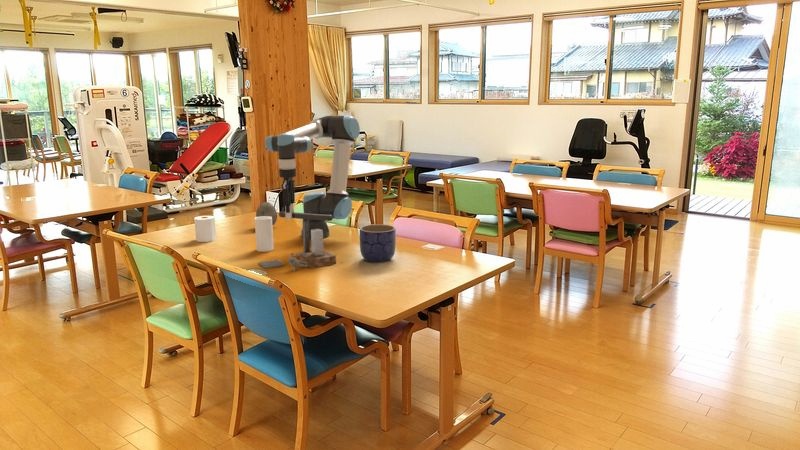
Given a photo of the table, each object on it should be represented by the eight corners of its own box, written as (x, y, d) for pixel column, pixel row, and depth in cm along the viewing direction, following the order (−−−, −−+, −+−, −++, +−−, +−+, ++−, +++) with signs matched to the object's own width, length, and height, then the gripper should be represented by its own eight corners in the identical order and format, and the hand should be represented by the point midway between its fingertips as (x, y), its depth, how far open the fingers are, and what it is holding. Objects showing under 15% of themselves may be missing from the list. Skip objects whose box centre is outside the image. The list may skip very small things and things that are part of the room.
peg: (320, 260, 258) (318, 228, 255) (323, 262, 255) (322, 230, 252) (312, 262, 256) (310, 229, 253) (315, 264, 253) (314, 231, 249)
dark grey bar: (280, 218, 267) (280, 210, 267) (334, 222, 258) (333, 214, 257) (277, 219, 265) (277, 211, 264) (331, 223, 256) (331, 215, 255)
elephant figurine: (311, 270, 244) (293, 267, 238) (304, 278, 247) (285, 274, 241) (307, 252, 250) (289, 248, 244) (300, 259, 253) (282, 255, 247)
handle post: (311, 253, 271) (309, 218, 267) (318, 257, 264) (317, 221, 260) (295, 255, 266) (294, 220, 263) (302, 259, 260) (301, 223, 256)
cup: (269, 252, 273) (267, 219, 269) (253, 251, 274) (251, 219, 271) (276, 247, 281) (274, 216, 277) (260, 247, 282) (259, 215, 279)
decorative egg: (275, 230, 319) (273, 203, 316) (254, 229, 319) (252, 203, 316) (279, 225, 330) (278, 200, 327) (259, 225, 331) (258, 200, 327)
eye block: (324, 257, 264) (323, 250, 263) (335, 263, 254) (335, 255, 253) (300, 261, 257) (299, 253, 256) (311, 267, 247) (310, 260, 247)
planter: (368, 266, 249) (368, 233, 246) (354, 257, 263) (353, 226, 260) (402, 261, 256) (402, 229, 253) (386, 253, 271) (385, 222, 267)
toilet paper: (191, 241, 294) (189, 218, 291) (205, 236, 303) (203, 214, 301) (207, 243, 290) (205, 220, 288) (220, 238, 300) (218, 216, 297)
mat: (277, 260, 258) (277, 259, 258) (284, 265, 251) (284, 264, 250) (258, 264, 253) (257, 262, 253) (265, 268, 246) (265, 267, 246)
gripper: (284, 165, 266) (287, 214, 271) (273, 170, 250) (276, 222, 255) (300, 165, 265) (302, 214, 271) (290, 170, 249) (293, 222, 255)
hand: (290, 218), depth 263 cm, fingers open, 3 cm apart
